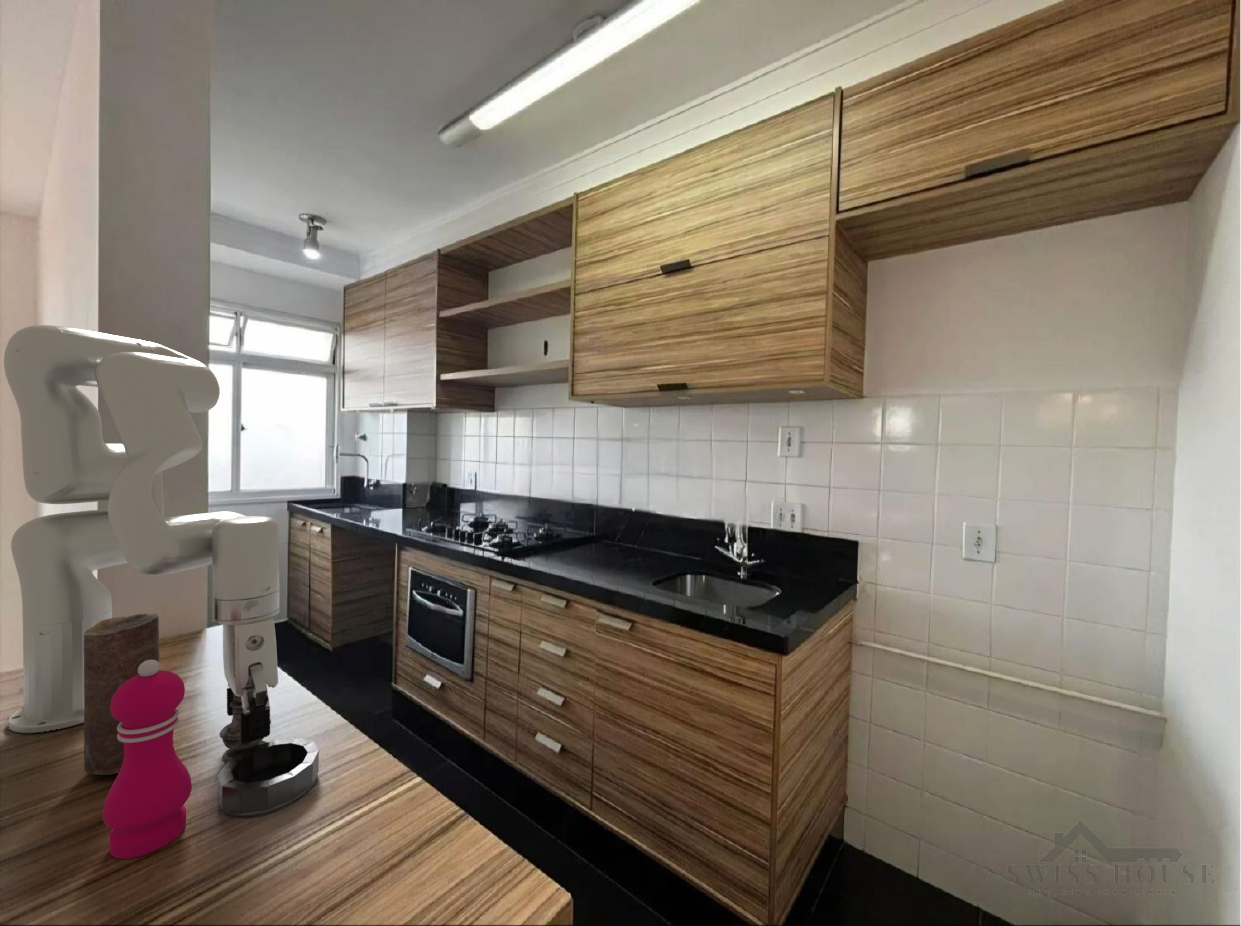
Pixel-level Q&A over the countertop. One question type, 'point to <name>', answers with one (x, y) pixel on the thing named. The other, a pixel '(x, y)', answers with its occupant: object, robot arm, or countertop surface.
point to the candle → (112, 682)
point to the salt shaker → (236, 731)
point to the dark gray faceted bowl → (268, 777)
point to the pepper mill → (147, 765)
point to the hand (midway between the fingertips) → (247, 725)
